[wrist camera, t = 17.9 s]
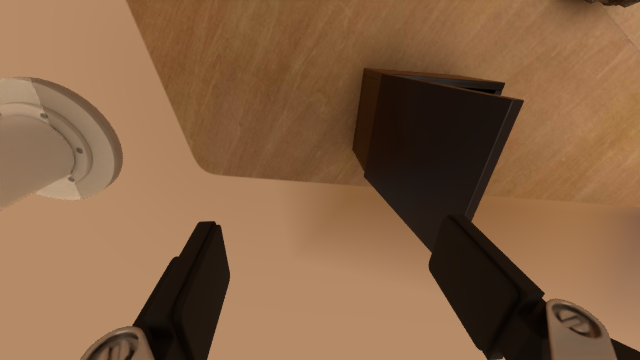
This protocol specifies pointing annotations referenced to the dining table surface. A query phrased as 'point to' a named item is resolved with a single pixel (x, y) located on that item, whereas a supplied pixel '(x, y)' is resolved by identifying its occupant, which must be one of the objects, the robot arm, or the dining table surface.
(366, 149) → the box
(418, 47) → the dining table surface
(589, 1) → the mineral specimen
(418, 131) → the lid
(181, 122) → the dining table surface
